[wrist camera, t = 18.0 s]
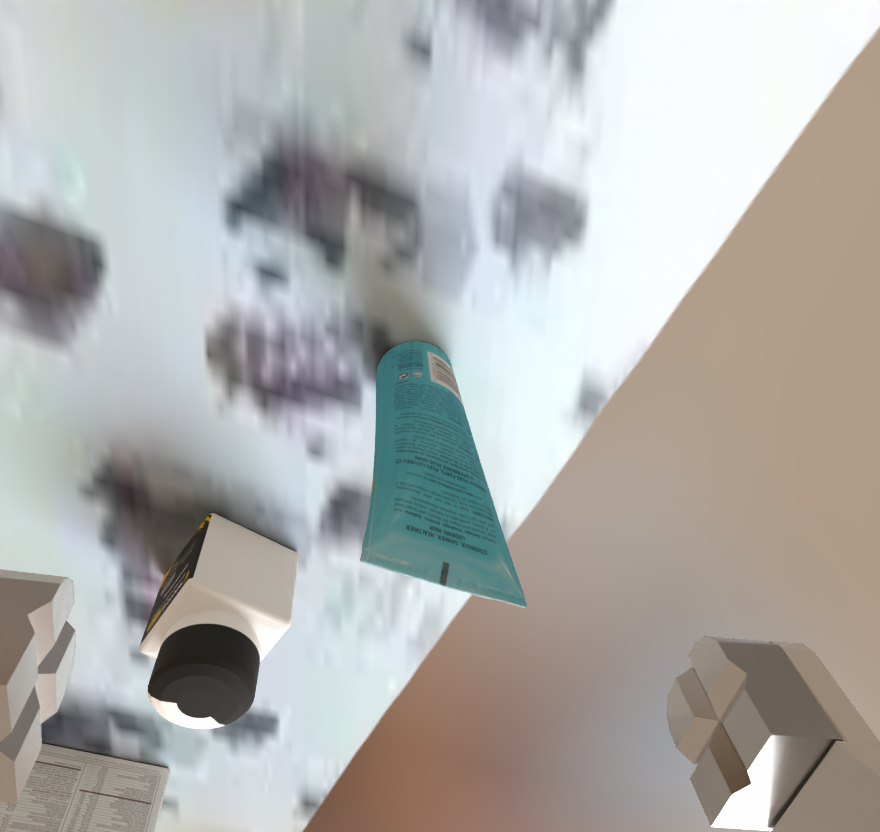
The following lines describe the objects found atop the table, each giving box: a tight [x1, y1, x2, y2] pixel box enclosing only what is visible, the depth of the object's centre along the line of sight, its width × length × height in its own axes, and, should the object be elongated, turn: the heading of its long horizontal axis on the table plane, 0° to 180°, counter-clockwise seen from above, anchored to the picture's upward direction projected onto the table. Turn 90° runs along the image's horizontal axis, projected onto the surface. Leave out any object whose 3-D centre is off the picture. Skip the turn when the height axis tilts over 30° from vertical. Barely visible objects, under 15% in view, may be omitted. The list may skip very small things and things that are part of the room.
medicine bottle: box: [139, 513, 299, 729], centre depth 46 cm, size 7×7×12 cm
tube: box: [360, 341, 527, 608], centre depth 37 cm, size 7×5×19 cm, turn 70°
